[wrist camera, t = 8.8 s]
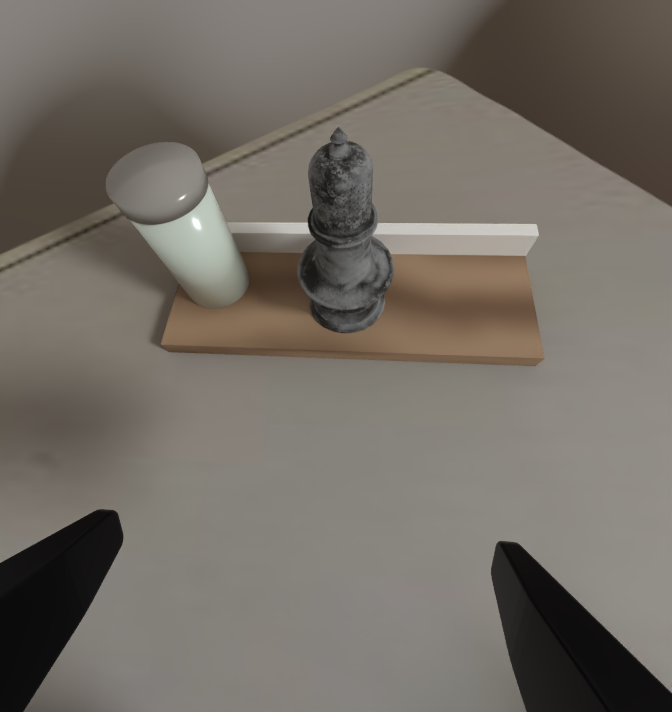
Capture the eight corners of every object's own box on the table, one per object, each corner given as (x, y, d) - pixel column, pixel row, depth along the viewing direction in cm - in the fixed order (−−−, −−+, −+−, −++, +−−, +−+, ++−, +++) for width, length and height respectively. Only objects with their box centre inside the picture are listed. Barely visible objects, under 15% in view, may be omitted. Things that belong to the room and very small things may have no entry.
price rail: (519, 266, 26) (538, 235, 23) (196, 261, 28) (177, 232, 25) (516, 253, 27) (536, 221, 24) (199, 249, 29) (181, 220, 26)
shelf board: (535, 365, 23) (544, 358, 22) (169, 351, 25) (160, 344, 24) (516, 256, 27) (523, 245, 26) (197, 251, 29) (191, 241, 28)
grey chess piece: (405, 289, 25) (444, 110, 14) (358, 353, 23) (358, 205, 12) (337, 253, 26) (322, 67, 15) (287, 310, 24) (231, 145, 14)
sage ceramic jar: (189, 317, 25) (104, 218, 17) (184, 265, 27) (106, 154, 19) (256, 300, 25) (204, 194, 17) (245, 249, 27) (195, 133, 19)
